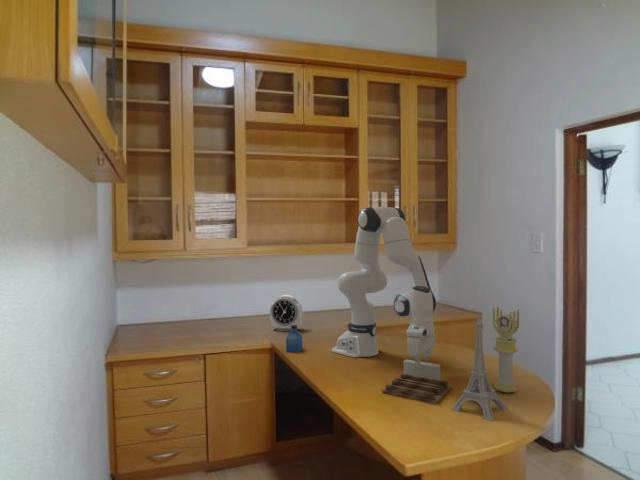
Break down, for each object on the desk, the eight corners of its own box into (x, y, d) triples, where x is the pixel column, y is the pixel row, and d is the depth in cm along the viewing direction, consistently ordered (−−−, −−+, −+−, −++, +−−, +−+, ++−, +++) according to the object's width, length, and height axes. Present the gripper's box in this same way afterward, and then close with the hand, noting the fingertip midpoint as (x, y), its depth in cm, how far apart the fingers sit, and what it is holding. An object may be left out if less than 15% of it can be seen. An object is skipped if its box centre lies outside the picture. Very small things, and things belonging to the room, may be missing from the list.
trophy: (489, 390, 166) (490, 308, 165) (499, 385, 171) (499, 305, 170) (512, 396, 160) (512, 311, 159) (521, 391, 165) (521, 308, 164)
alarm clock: (269, 331, 263) (268, 296, 263) (274, 327, 272) (273, 293, 271) (299, 332, 259) (298, 296, 258) (303, 329, 267) (302, 294, 267)
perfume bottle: (302, 348, 225) (302, 324, 225) (298, 352, 219) (298, 327, 219) (290, 348, 227) (290, 323, 226) (286, 351, 221) (285, 326, 220)
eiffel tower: (507, 408, 151) (507, 317, 150) (491, 421, 141) (491, 324, 140) (468, 398, 160) (468, 312, 159) (450, 410, 150) (450, 318, 149)
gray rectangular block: (403, 376, 183) (403, 361, 183) (406, 374, 186) (406, 359, 186) (437, 382, 176) (437, 366, 176) (440, 380, 178) (440, 364, 178)
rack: (382, 392, 165) (382, 384, 165) (400, 380, 178) (400, 372, 178) (436, 404, 154) (436, 395, 154) (451, 389, 167) (451, 381, 167)
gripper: (423, 322, 190) (424, 355, 191) (404, 332, 173) (405, 368, 174) (438, 324, 187) (439, 357, 187) (420, 334, 170) (420, 371, 170)
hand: (422, 363), depth 180 cm, fingers open, 8 cm apart
